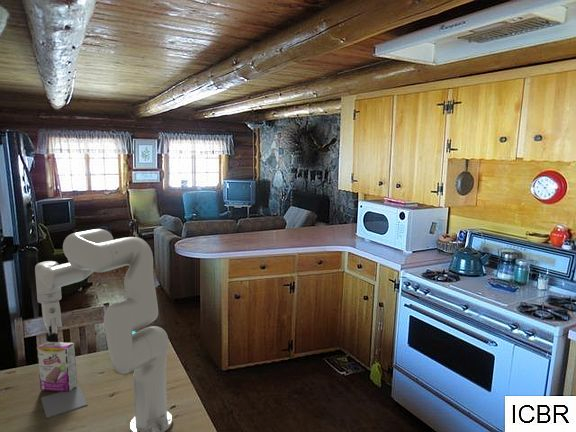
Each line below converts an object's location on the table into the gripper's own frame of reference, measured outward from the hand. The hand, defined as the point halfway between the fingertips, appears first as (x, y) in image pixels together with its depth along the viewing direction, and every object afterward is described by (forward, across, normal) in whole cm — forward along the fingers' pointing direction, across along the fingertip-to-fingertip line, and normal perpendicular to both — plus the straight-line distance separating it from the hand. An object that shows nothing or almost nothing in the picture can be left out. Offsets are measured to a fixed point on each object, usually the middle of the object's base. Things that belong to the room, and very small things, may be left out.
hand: (52, 343), depth 152 cm
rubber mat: (+14, -18, 0) cm, 22 cm away
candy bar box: (+14, -8, 0) cm, 16 cm away
